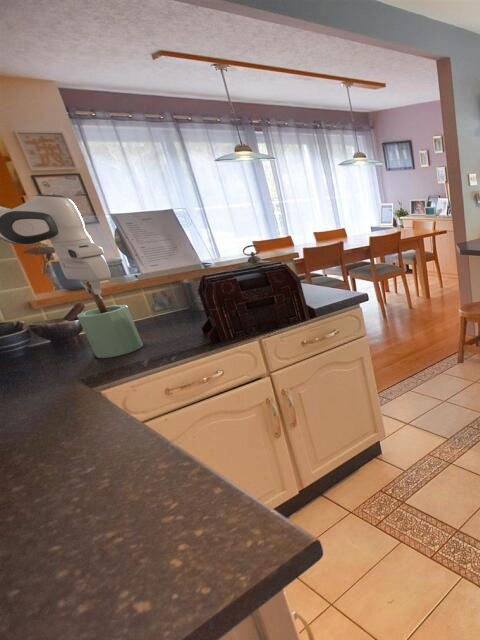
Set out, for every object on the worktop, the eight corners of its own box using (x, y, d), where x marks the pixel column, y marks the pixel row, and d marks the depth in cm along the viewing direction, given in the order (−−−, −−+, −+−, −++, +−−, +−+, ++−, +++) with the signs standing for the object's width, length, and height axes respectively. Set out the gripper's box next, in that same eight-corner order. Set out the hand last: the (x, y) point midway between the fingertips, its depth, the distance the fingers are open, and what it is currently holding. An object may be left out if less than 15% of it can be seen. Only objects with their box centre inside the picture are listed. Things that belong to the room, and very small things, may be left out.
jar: (108, 359, 138) (89, 318, 132) (88, 355, 142) (69, 315, 137) (150, 345, 148) (134, 306, 142) (130, 341, 153) (114, 303, 147)
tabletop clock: (255, 309, 181) (237, 249, 172) (244, 306, 186) (225, 248, 177) (287, 299, 192) (272, 242, 183) (276, 297, 197) (260, 241, 188)
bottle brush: (109, 337, 140) (84, 283, 134) (102, 336, 142) (77, 282, 135) (125, 332, 144) (101, 279, 137) (118, 331, 146) (94, 278, 139)
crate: (301, 308, 178) (288, 257, 170) (319, 317, 165) (305, 262, 157) (202, 333, 156) (181, 276, 148) (212, 345, 143) (191, 284, 135)
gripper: (45, 251, 134) (66, 294, 139) (79, 252, 126) (100, 298, 131) (71, 247, 139) (90, 289, 145) (105, 248, 131) (124, 292, 136)
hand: (95, 293), depth 138 cm, fingers closed on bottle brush, 2 cm apart
